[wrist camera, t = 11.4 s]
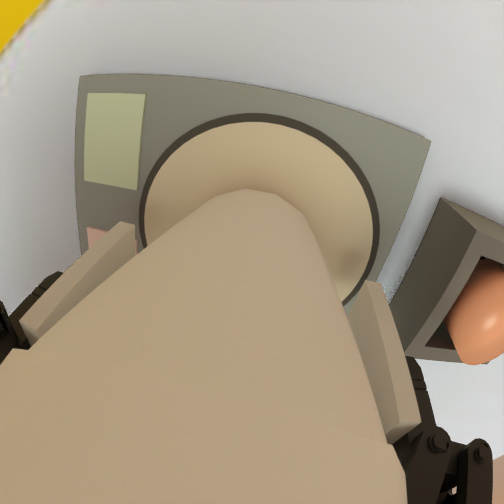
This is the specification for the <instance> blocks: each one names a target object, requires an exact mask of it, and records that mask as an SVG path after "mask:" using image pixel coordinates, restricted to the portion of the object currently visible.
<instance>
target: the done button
mask: <svg viewBox="0 0 504 504" xmlns="http://www.w3.org/2000/svg"><path fill="white" fill-rule="evenodd" d="M443 322H444V324H445V326H446V328H447V330H448V332H449V334H450V337H451V339H452V341H453V343H454V346H455V348H456V350H457V353H458V355H459V357H460V359H461V361H462V362H464V363H465V364H468V365H478V364H482V363H486V362H488V361H490V360H493V359H494V358H496V357H498V356H499V355H501V354H502V353H504V264H502V263H499V262H497V261H494V260H492V259H483V260H480V261H478V263H477V265H476V266H475V268H474V270H473V272H472V274H471V275H470V277H469V279H468V281H467V282H466V284H465V286H464V288H463V289H462V291H461V293H460V294H459V296H458V298H457V299H456V301H455V302H454V304H453V305H452V307H451V309H450V310H449V312H448V313H447V315H446V316H445V318H444V319H443Z"/></svg>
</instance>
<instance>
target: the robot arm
mask: <svg viewBox="0 0 504 504" xmlns="http://www.w3.org/2000/svg"><path fill="white" fill-rule="evenodd" d="M133 257H135V225H134V224H129V223H125V222H121V221H120V222H119V223H117V224H116V225H115V226H114V227H113V228H112V229H111V230H109V231H108V232H107V233H106V234H105V235H104V236H103V237H101V238H100V239H99V240H98V241H97V242H96V243H95V244H94V245H93V246H92V247H90V248H89V249H88V250H87V251H86V252H85V253H84V254H83V255H82V256H81V257H80V258H79V259H78V260H77V261H76V262H75V263H74V264H72V265H71V266H70V267H69V268H68V269H67V270H66V271H65V272H64V273H62V272H59V271H58V272H56V273H54V274H52V275H50V276H48V277H47V278H46V279H44V280H43V281H42V282H41V283H40V284H39V286H38V287H36V288H35V290H34V291H33V292H32V294H30V295H29V296H28V297H27V298H26V299H25V300H24V301H23V302H22V303H21V304H20V305H19V306H18V307H17V308H16V310H15V311H14V312H13V313H12V314H11V315H10V316H9V317H8V314H7V312H6V309H5V307H4V305H3V302H1V301H0V365H1V363H2V362H3V361H4V359H5V358H6V357H7V355H8V354H9V353H10V351H11V350H12V349H13V348H14V349H23V350H29V349H30V348H31V347H32V346H33V345H34V344H35V343H36V342H37V341H38V340H39V339H40V338H41V337H42V336H43V335H44V334H45V333H46V332H47V331H49V330H50V329H51V328H52V327H53V326H54V325H55V324H56V323H57V322H58V321H59V320H60V319H62V318H63V317H64V316H65V315H66V314H67V313H68V312H69V311H70V310H72V309H73V308H74V307H75V306H76V305H77V304H78V303H80V302H81V301H82V300H83V299H84V298H85V297H86V296H88V295H89V294H90V293H91V292H92V291H93V290H95V289H96V288H97V287H98V286H99V285H100V284H102V283H103V282H104V281H105V280H106V279H108V278H109V277H110V276H111V275H112V274H114V273H115V272H116V271H117V270H119V269H120V268H121V267H122V266H123V265H125V264H126V263H127V262H128V261H130V260H131V259H132V258H133ZM347 319H348V322H349V324H350V327H351V330H352V333H353V335H354V338H355V341H356V344H357V347H358V350H359V353H360V356H361V359H362V362H363V364H364V368H365V371H366V374H367V377H368V380H369V383H370V386H371V389H372V392H373V396H374V399H375V402H376V405H377V409H378V412H379V415H380V419H381V422H382V426H383V429H384V433H385V436H386V440H387V444H390V445H393V447H394V450H395V452H396V454H397V456H398V459H399V461H400V463H401V465H402V468H403V470H404V472H405V478H406V490H407V504H492V487H493V484H492V483H493V465H492V464H493V463H492V451H491V448H490V446H489V444H488V443H487V442H486V441H485V440H483V439H480V438H479V439H475V440H473V441H472V442H470V443H469V444H468V445H464V444H460V443H457V442H453V441H451V439H450V436H449V435H448V433H447V432H446V431H445V430H444V429H442V428H441V427H438V426H436V423H435V418H434V414H433V410H432V406H431V402H430V399H429V395H428V391H426V389H427V388H426V384H425V382H424V377H423V374H422V371H421V367H420V366H419V365H418V363H417V362H416V360H415V359H414V357H410V356H405V354H404V351H403V348H402V344H401V341H400V338H399V335H398V332H397V328H396V325H395V322H394V319H393V316H392V313H391V310H390V308H389V305H388V302H387V299H386V296H385V293H384V291H383V288H382V285H381V283H377V282H373V281H368V280H365V281H364V284H363V286H362V288H361V290H360V292H359V294H358V296H357V298H356V300H355V302H354V304H353V306H352V308H351V310H350V312H349V314H348V316H347ZM456 486H457V491H456V494H454V495H453V494H452V488H454V487H456Z"/></svg>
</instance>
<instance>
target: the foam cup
mask: <svg viewBox="0 0 504 504" xmlns="http://www.w3.org/2000/svg"><path fill="white" fill-rule="evenodd" d="M0 504H407V490H406V478H405V472H404V470H403V468H402V465H401V463H400V461H399V459H398V456H397V454H396V452H395V450H394V447H393V445H390V444H387V440H386V436H385V433H384V429H383V426H382V422H381V419H380V415H379V412H378V409H377V405H376V402H375V399H374V396H373V392H372V389H371V386H370V383H369V380H368V377H367V374H366V371H365V368H364V364H363V362H362V359H361V356H360V353H359V350H358V347H357V344H356V341H355V338H354V335H353V333H352V330H351V327H350V324H349V322H348V319H347V316H346V313H345V311H344V308H343V305H342V303H341V300H340V297H339V295H338V292H337V290H336V287H335V284H334V282H333V279H332V277H331V274H330V272H329V269H328V267H327V264H326V262H325V259H324V257H323V254H322V252H321V250H320V247H319V245H318V243H317V241H316V238H315V237H314V235H313V233H312V231H311V229H310V227H309V225H308V223H307V221H306V219H305V217H304V215H303V213H302V212H300V211H299V210H298V209H296V208H295V207H293V206H292V205H291V204H289V203H288V202H287V201H285V200H284V199H282V198H281V197H280V196H278V195H277V194H272V193H266V192H261V191H256V190H250V189H241V190H237V191H233V192H229V193H226V194H222V195H218V196H215V197H214V198H213V199H210V200H209V201H207V202H206V203H205V204H203V205H202V206H200V207H199V208H198V209H196V210H195V211H194V212H192V213H191V214H189V215H188V216H187V217H185V218H184V219H183V220H181V221H180V222H179V223H177V224H176V225H175V226H173V227H172V228H171V229H169V230H168V231H167V232H165V233H164V234H163V235H161V236H160V237H159V238H158V239H156V240H155V241H154V242H152V243H151V244H150V245H149V246H147V247H146V248H145V249H143V250H142V251H141V252H140V253H138V254H137V255H136V256H135V257H133V258H132V259H131V260H130V261H128V262H127V263H126V264H125V265H123V266H122V267H121V268H120V269H119V270H117V271H116V272H115V273H114V274H112V275H111V276H110V277H109V278H108V279H106V280H105V281H104V282H103V283H102V284H100V285H99V286H98V287H97V288H96V289H95V290H93V291H92V292H91V293H90V294H89V295H88V296H86V297H85V298H84V299H83V300H82V301H81V302H80V303H78V304H77V305H76V306H75V307H74V308H73V309H72V310H70V311H69V312H68V313H67V314H66V315H65V316H64V317H63V318H62V319H60V320H59V321H58V322H57V323H56V324H55V325H54V326H53V327H52V328H51V329H50V330H49V331H47V332H46V333H45V334H44V335H43V336H42V337H41V338H40V339H39V340H38V341H37V342H36V343H35V344H34V345H33V346H32V347H31V348H30V349H29V350H23V349H14V348H13V349H12V350H11V351H10V353H9V354H8V355H7V357H6V358H5V359H4V361H3V362H2V363H1V365H0Z"/></svg>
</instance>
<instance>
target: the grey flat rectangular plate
mask: <svg viewBox="0 0 504 504" xmlns="http://www.w3.org/2000/svg"><path fill="white" fill-rule="evenodd" d="M430 144H431V141H430V140H428V139H425V138H423V137H421V136H419V135H416V134H414V133H412V132H409V131H407V130H404V129H402V128H399V127H397V126H394V125H392V124H389V123H387V122H384V121H381V120H379V119H376V118H373V117H370V116H367V115H364V114H361V113H358V112H355V111H352V110H349V109H346V108H343V107H340V106H336V105H333V104H329V103H326V102H322V101H319V100H315V99H311V98H307V97H303V96H299V95H295V94H291V93H287V92H282V91H277V90H273V89H268V88H263V87H257V86H252V85H246V84H240V83H234V82H227V81H220V80H212V79H203V78H193V77H182V76H168V75H145V74H108V75H86V76H80V79H79V88H78V98H77V110H76V127H75V189H76V207H77V220H78V230H79V239H80V248H81V255H83V254H84V253H85V252H86V251H87V250H88V249H89V248H90V247H92V246H93V245H94V244H95V243H96V242H97V241H98V240H99V239H100V238H101V237H103V236H104V235H105V234H106V233H107V232H108V231H109V230H111V229H112V228H113V227H114V226H115V225H116V224H117V223H119V222H120V221H121V222H125V223H129V224H134V225H135V256H136V255H137V254H138V253H140V252H141V251H142V250H143V249H145V248H146V247H147V246H149V245H150V244H151V243H152V242H154V241H155V240H156V239H158V238H159V237H160V236H161V235H163V234H164V233H165V232H167V231H168V230H169V229H171V228H172V227H173V226H175V225H176V224H177V223H179V222H180V221H181V220H183V219H184V218H185V217H187V216H188V215H189V214H191V213H192V212H194V211H195V210H196V209H198V208H199V207H200V206H202V205H203V204H205V203H206V202H207V201H209V200H210V199H213V198H214V197H215V196H218V195H222V194H226V193H229V192H233V191H237V190H241V189H250V190H256V191H261V192H266V193H272V194H277V195H278V196H280V197H281V198H282V199H284V200H285V201H287V202H288V203H289V204H291V205H292V206H293V207H295V208H296V209H298V210H299V211H300V212H302V213H303V215H304V217H305V219H306V221H307V223H308V225H309V227H310V229H311V231H312V233H313V235H314V237H315V238H316V241H317V243H318V245H319V247H320V250H321V252H322V254H323V257H324V259H325V262H326V264H327V267H328V269H329V272H330V274H331V277H332V279H333V282H334V284H335V287H336V290H337V292H338V295H339V297H340V300H341V303H342V305H343V308H344V311H345V313H346V316H348V314H349V312H350V310H351V308H352V306H353V304H354V302H355V300H356V298H357V296H358V294H359V292H360V290H361V288H362V286H363V284H364V281H365V280H368V281H373V282H376V280H377V278H378V276H379V274H380V271H381V269H382V267H383V265H384V263H385V261H386V259H387V257H388V254H389V252H390V250H391V248H392V246H393V243H394V241H395V239H396V236H397V234H398V232H399V229H400V227H401V225H402V222H403V220H404V217H405V215H406V212H407V210H408V207H409V205H410V202H411V199H412V197H413V194H414V191H415V189H416V186H417V183H418V180H419V178H420V175H421V172H422V169H423V166H424V163H425V160H426V157H427V154H428V151H429V147H430Z"/></svg>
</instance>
